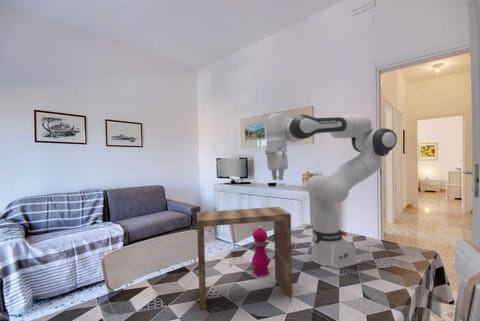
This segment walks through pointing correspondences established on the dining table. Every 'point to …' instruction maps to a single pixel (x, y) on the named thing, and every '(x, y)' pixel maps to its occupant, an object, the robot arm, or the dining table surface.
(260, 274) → the pepper mill
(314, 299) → the dining table surface
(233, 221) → the arch
